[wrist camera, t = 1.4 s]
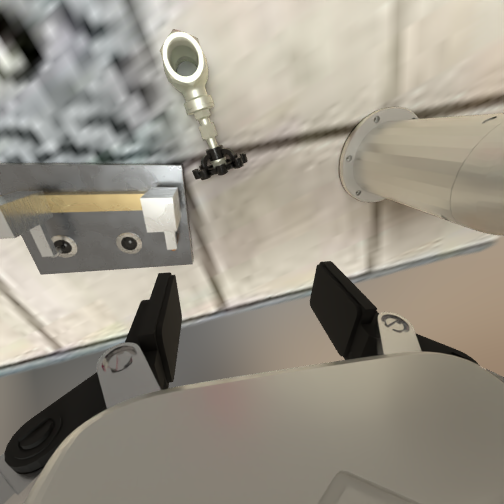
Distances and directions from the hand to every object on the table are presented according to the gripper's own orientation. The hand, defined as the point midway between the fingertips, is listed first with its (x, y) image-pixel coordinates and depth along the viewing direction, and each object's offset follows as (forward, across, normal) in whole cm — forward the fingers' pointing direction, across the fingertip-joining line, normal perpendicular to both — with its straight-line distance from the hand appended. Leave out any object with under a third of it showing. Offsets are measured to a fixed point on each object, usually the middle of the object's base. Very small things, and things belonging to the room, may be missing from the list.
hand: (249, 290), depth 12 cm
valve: (+22, +2, -9) cm, 24 cm away
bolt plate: (+22, +15, +3) cm, 27 cm away
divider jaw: (+20, +7, +2) cm, 21 cm away
